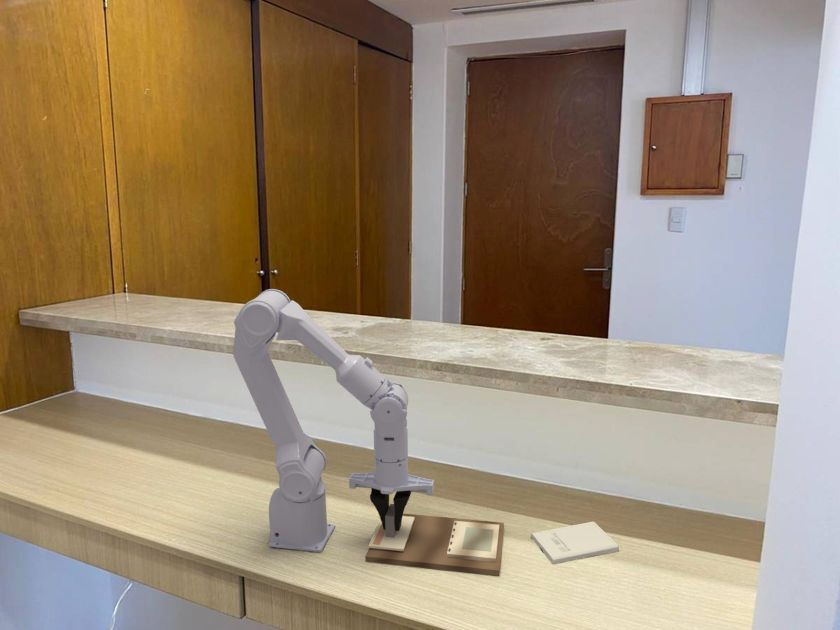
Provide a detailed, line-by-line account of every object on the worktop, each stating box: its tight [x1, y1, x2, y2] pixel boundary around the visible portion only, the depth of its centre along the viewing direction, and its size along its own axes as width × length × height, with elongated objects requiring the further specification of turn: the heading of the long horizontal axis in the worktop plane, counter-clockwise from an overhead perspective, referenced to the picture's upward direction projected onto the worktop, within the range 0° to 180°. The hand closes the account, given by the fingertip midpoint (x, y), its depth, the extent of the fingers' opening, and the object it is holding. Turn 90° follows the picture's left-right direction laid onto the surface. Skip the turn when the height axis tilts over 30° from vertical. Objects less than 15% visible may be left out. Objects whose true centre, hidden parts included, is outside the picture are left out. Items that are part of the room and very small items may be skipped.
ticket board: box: [364, 512, 505, 577], centre depth 110 cm, size 22×14×2 cm, turn 80°
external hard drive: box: [530, 521, 620, 565], centre depth 110 cm, size 2×8×12 cm
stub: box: [368, 503, 415, 551], centre depth 111 cm, size 6×10×4 cm, turn 170°
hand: (392, 527), depth 111 cm, fingers closed on stub
